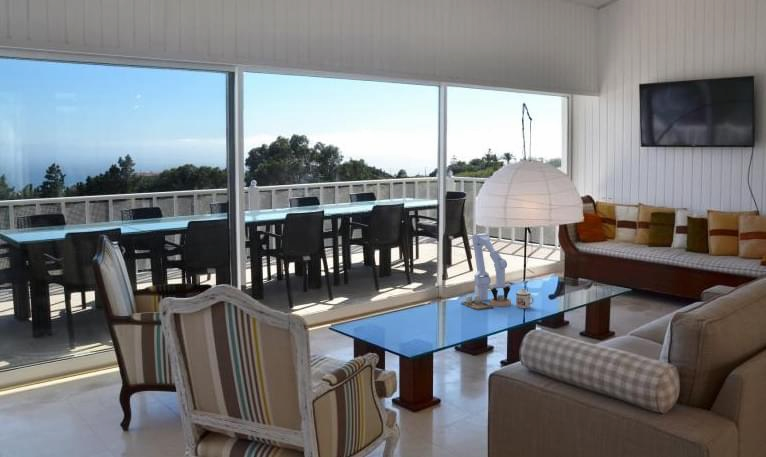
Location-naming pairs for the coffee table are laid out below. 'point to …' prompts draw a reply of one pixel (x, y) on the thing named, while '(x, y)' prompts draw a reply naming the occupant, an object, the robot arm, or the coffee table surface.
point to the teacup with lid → (523, 299)
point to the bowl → (495, 303)
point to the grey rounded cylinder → (500, 298)
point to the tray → (478, 307)
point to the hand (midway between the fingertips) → (500, 299)
